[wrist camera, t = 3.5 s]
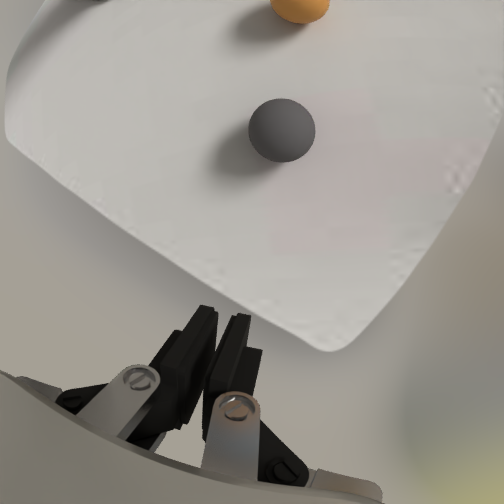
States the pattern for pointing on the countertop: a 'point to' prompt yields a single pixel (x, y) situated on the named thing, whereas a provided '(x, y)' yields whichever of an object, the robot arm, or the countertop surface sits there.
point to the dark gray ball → (281, 130)
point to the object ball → (300, 10)
